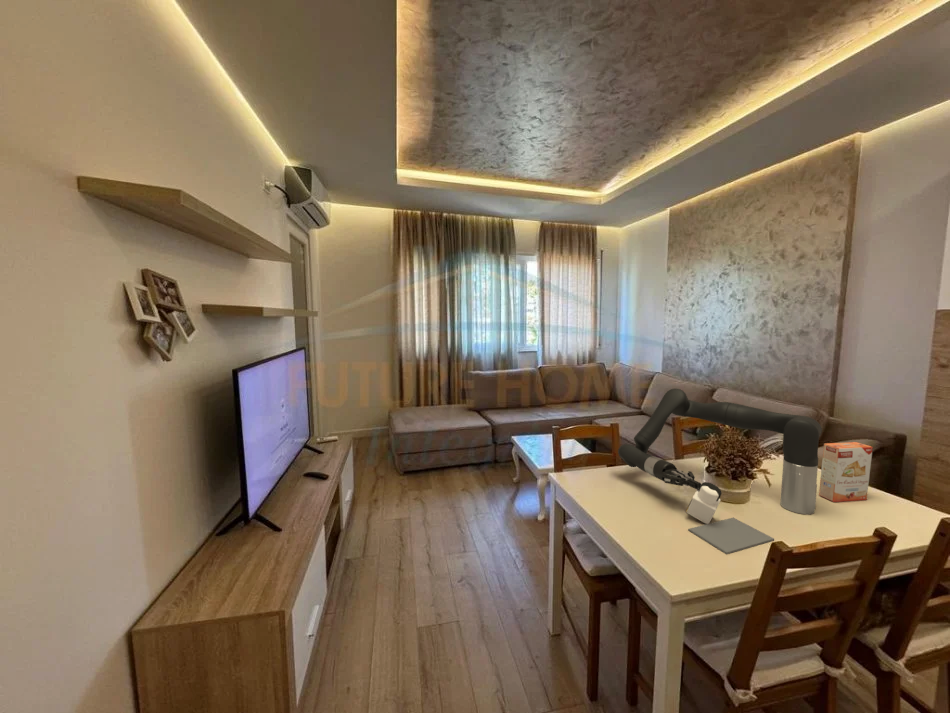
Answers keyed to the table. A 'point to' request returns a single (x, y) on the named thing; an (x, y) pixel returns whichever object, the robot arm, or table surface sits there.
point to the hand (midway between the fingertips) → (699, 486)
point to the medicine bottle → (704, 502)
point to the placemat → (730, 535)
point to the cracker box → (845, 471)
